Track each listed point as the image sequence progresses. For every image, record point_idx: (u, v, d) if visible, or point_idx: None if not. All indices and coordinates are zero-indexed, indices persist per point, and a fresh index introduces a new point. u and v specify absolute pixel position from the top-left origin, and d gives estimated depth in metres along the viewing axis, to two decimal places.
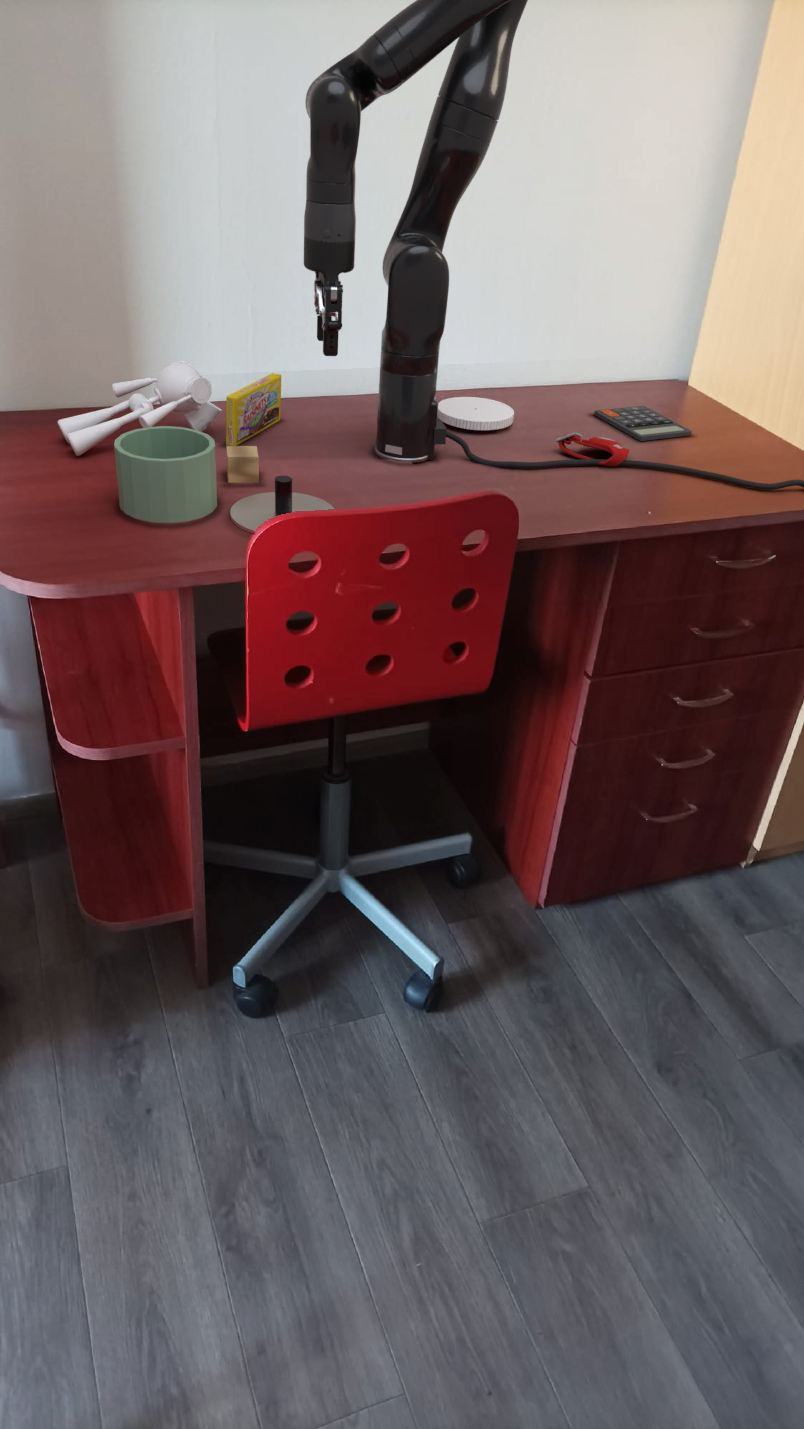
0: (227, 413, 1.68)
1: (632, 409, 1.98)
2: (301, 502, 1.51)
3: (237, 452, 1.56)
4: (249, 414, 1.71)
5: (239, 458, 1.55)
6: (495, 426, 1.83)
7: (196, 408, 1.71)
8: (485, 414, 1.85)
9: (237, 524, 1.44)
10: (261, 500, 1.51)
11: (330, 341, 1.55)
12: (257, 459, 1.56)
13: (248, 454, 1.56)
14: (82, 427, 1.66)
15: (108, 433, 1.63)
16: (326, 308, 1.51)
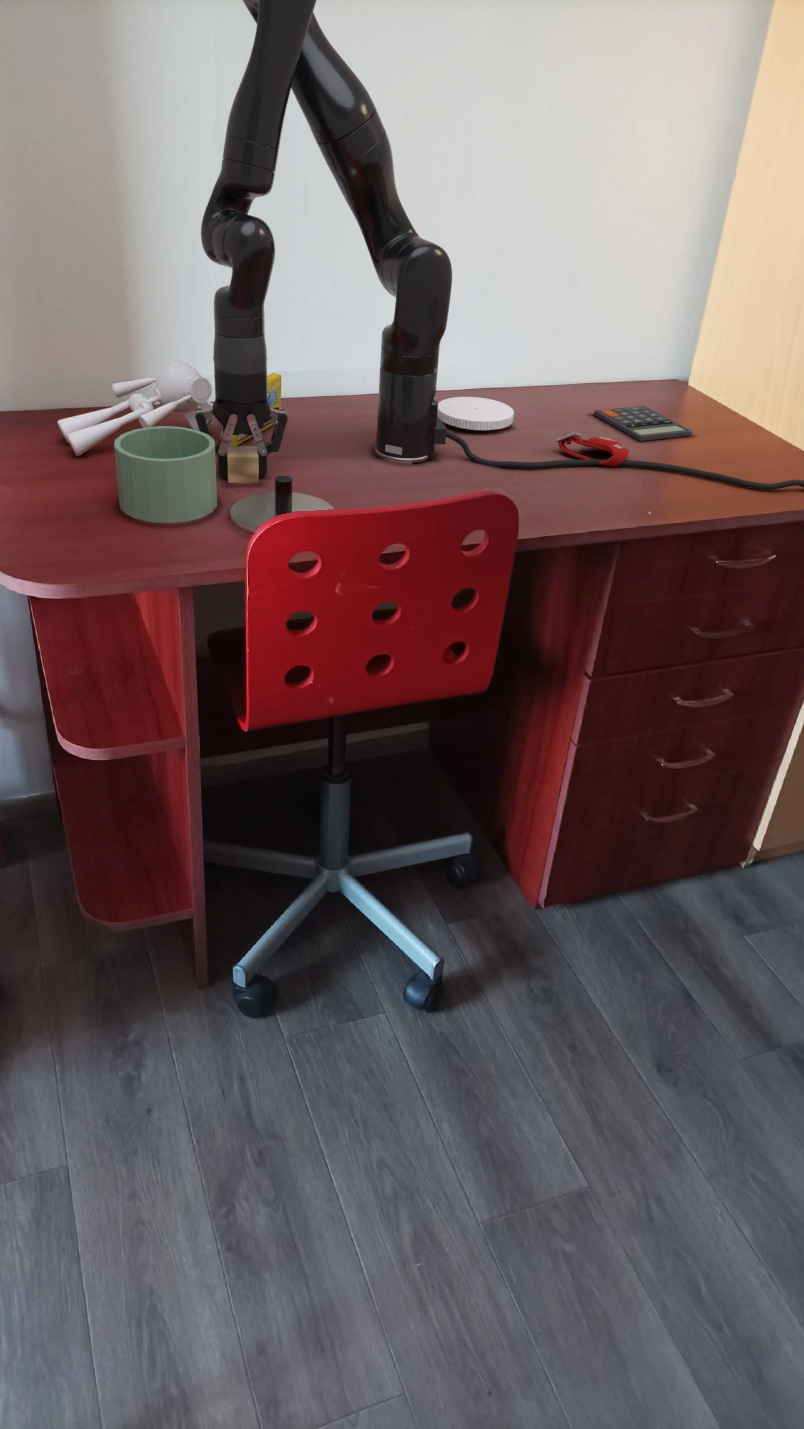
0: None
1: (632, 409, 1.98)
2: (301, 502, 1.51)
3: (237, 452, 1.56)
4: None
5: (238, 458, 1.55)
6: (495, 426, 1.83)
7: (196, 408, 1.71)
8: (485, 414, 1.85)
9: (237, 524, 1.44)
10: (261, 500, 1.51)
11: None
12: (257, 459, 1.56)
13: (248, 454, 1.56)
14: (82, 427, 1.66)
15: (108, 433, 1.63)
16: None
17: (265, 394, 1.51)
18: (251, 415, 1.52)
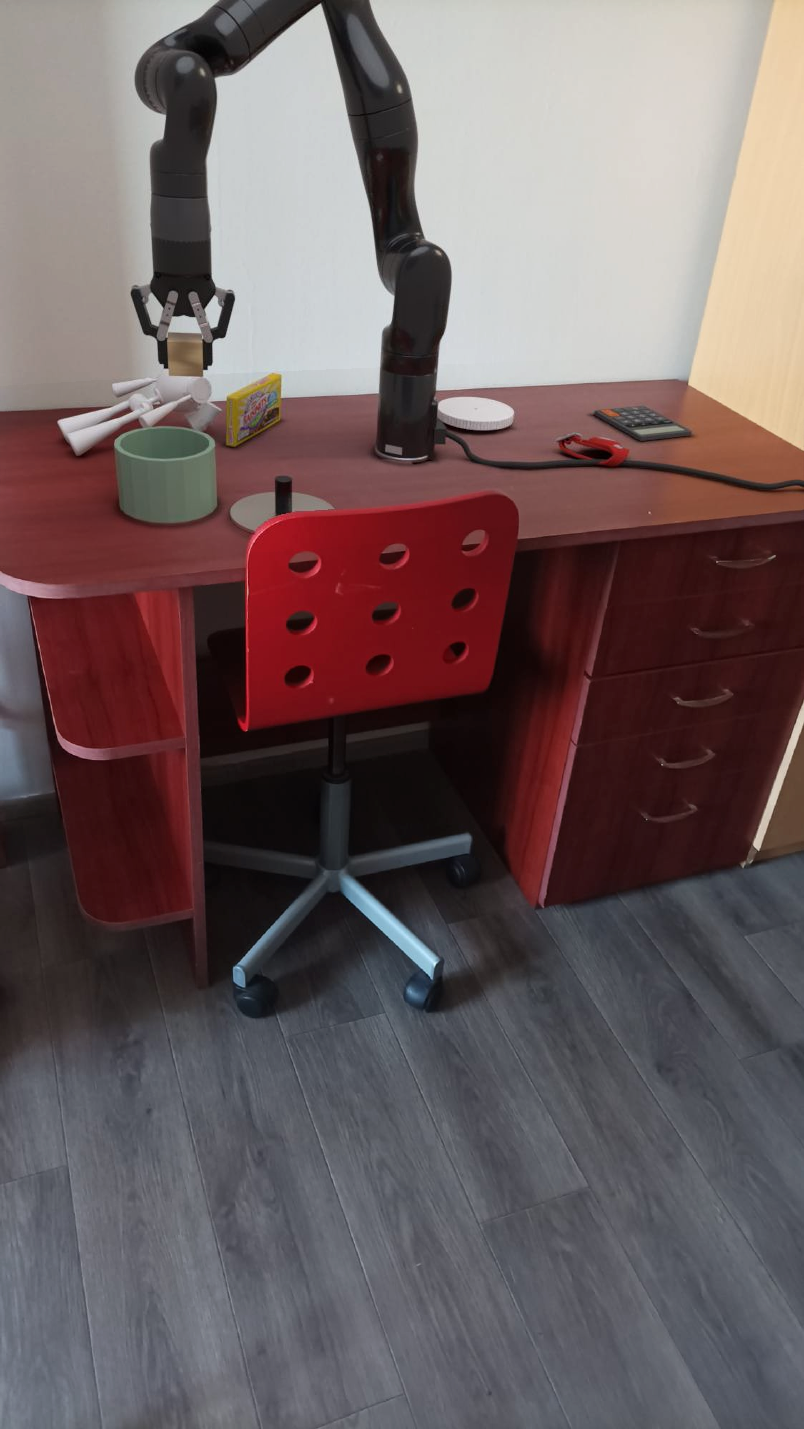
0: (227, 413, 1.68)
1: (632, 409, 1.98)
2: (301, 502, 1.51)
3: (179, 337, 1.40)
4: (249, 414, 1.71)
5: (180, 343, 1.38)
6: (495, 426, 1.83)
7: (196, 408, 1.71)
8: (485, 414, 1.85)
9: (237, 524, 1.44)
10: (261, 500, 1.51)
11: None
12: (201, 345, 1.39)
13: (191, 339, 1.39)
14: (82, 427, 1.66)
15: (108, 433, 1.63)
16: None
17: (209, 268, 1.35)
18: (193, 292, 1.35)
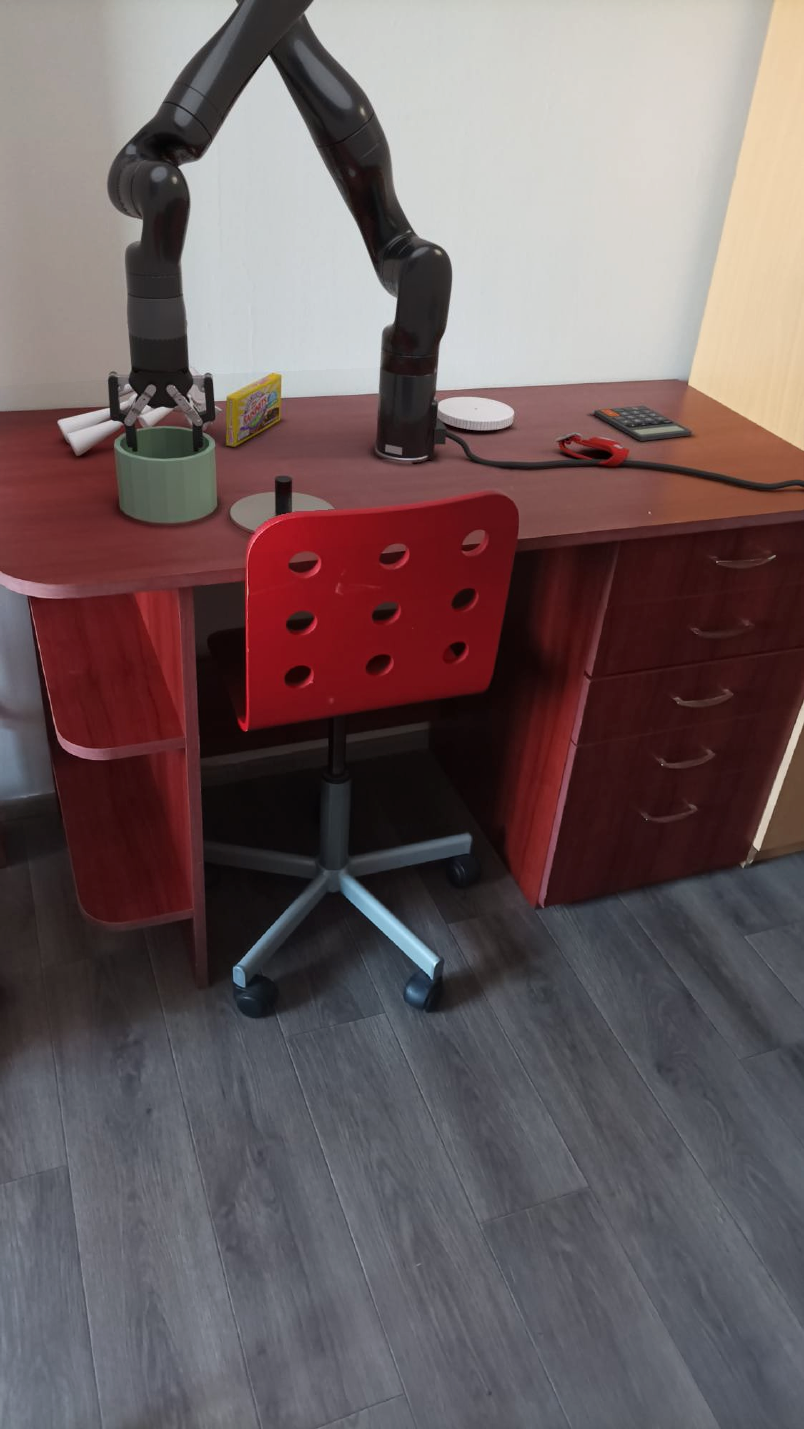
0: (227, 413, 1.68)
1: (632, 409, 1.98)
2: (301, 502, 1.51)
3: None
4: (249, 414, 1.71)
5: None
6: (495, 426, 1.83)
7: None
8: (485, 414, 1.85)
9: (237, 524, 1.44)
10: (261, 500, 1.51)
11: None
12: None
13: None
14: (82, 427, 1.66)
15: (108, 433, 1.63)
16: None
17: (186, 362, 1.37)
18: (171, 386, 1.38)
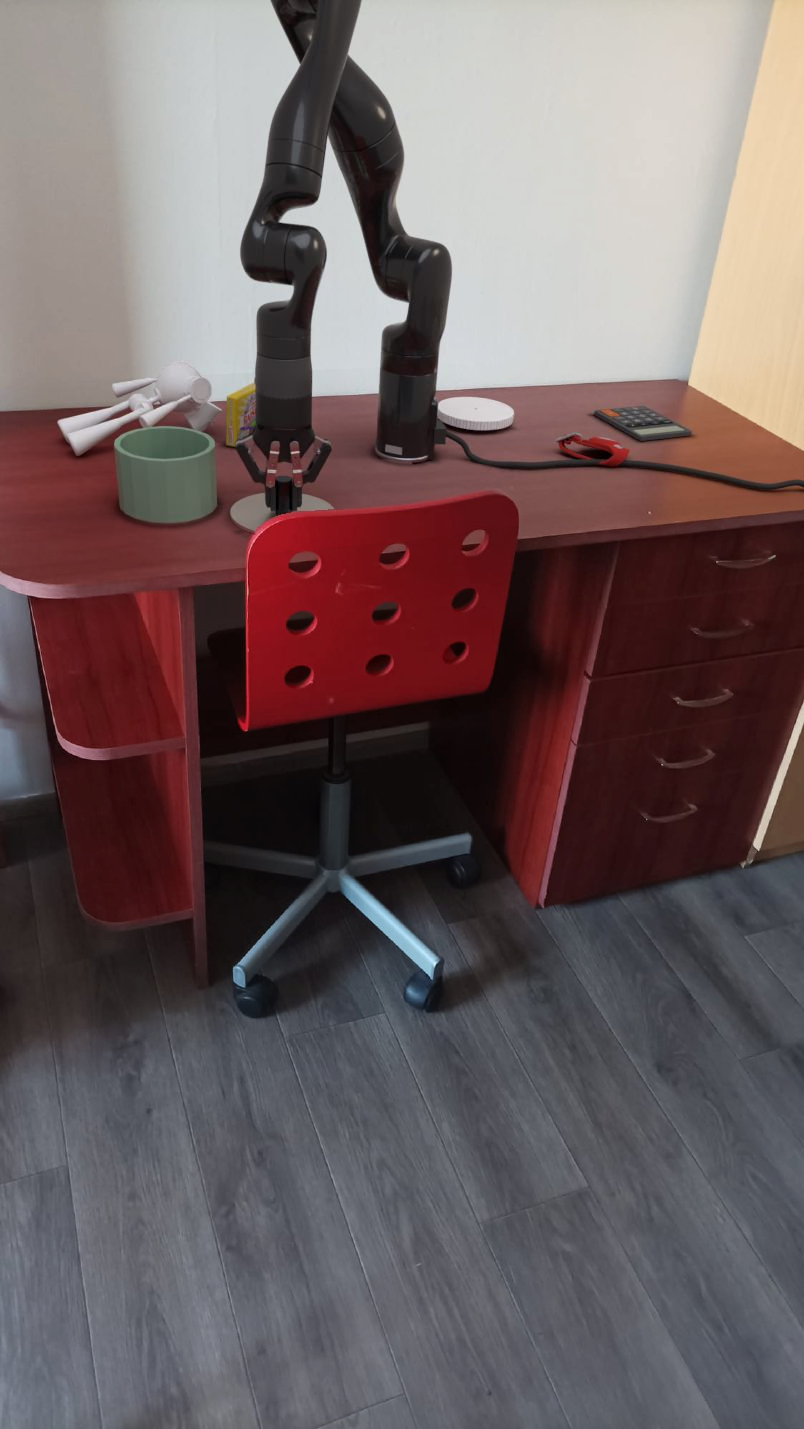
0: (227, 413, 1.68)
1: (632, 409, 1.98)
2: None
3: None
4: (249, 414, 1.71)
5: None
6: (495, 426, 1.83)
7: (196, 408, 1.71)
8: (485, 414, 1.85)
9: (237, 524, 1.44)
10: (261, 500, 1.51)
11: (265, 493, 1.46)
12: None
13: None
14: (82, 427, 1.66)
15: (108, 433, 1.63)
16: None
17: (310, 419, 1.39)
18: (295, 442, 1.40)
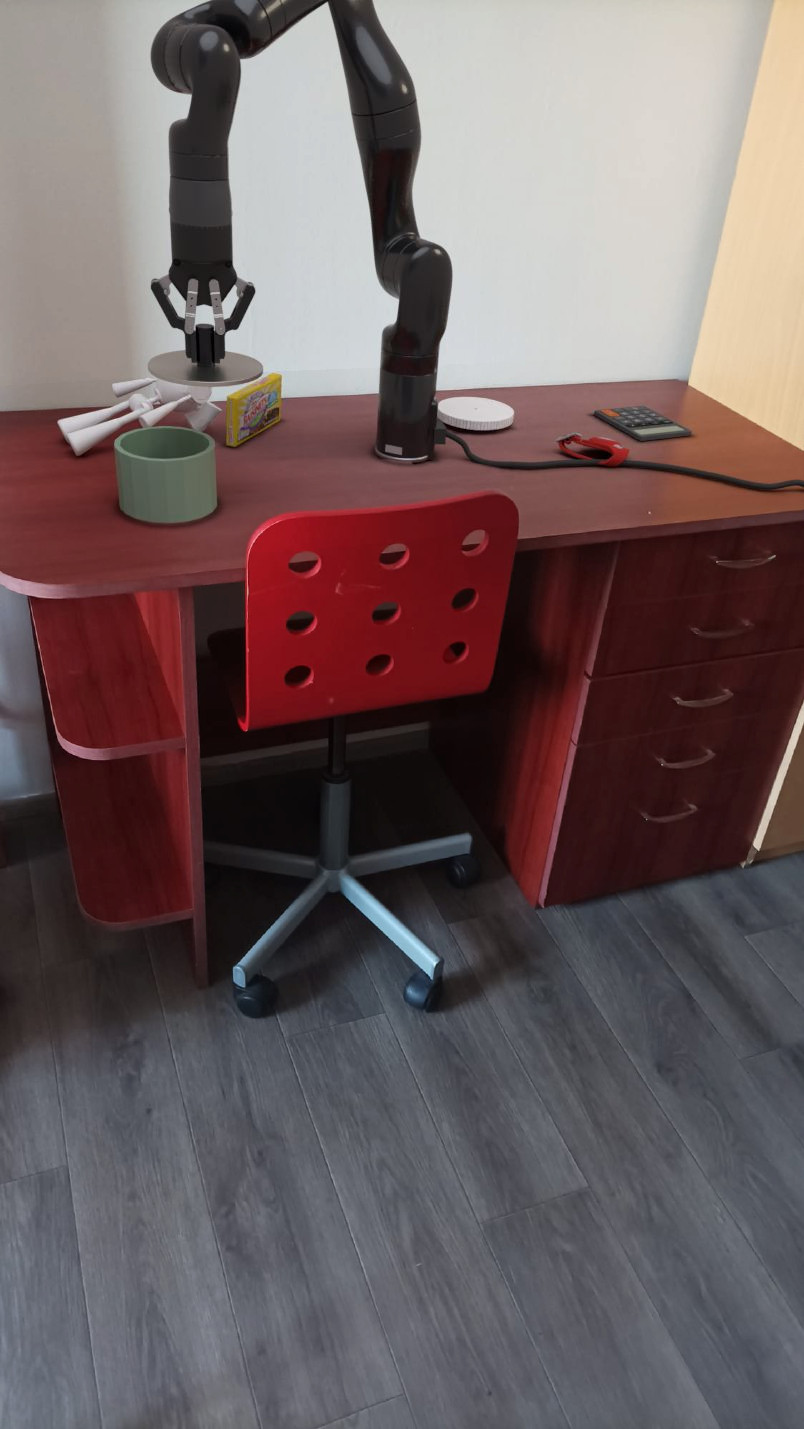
0: (227, 413, 1.68)
1: (632, 409, 1.98)
2: (226, 358, 1.40)
3: None
4: (249, 414, 1.71)
5: None
6: (495, 426, 1.83)
7: (196, 408, 1.71)
8: (485, 414, 1.85)
9: (154, 373, 1.33)
10: (183, 355, 1.40)
11: None
12: None
13: None
14: (82, 427, 1.66)
15: (108, 433, 1.63)
16: None
17: (230, 255, 1.29)
18: (214, 280, 1.30)
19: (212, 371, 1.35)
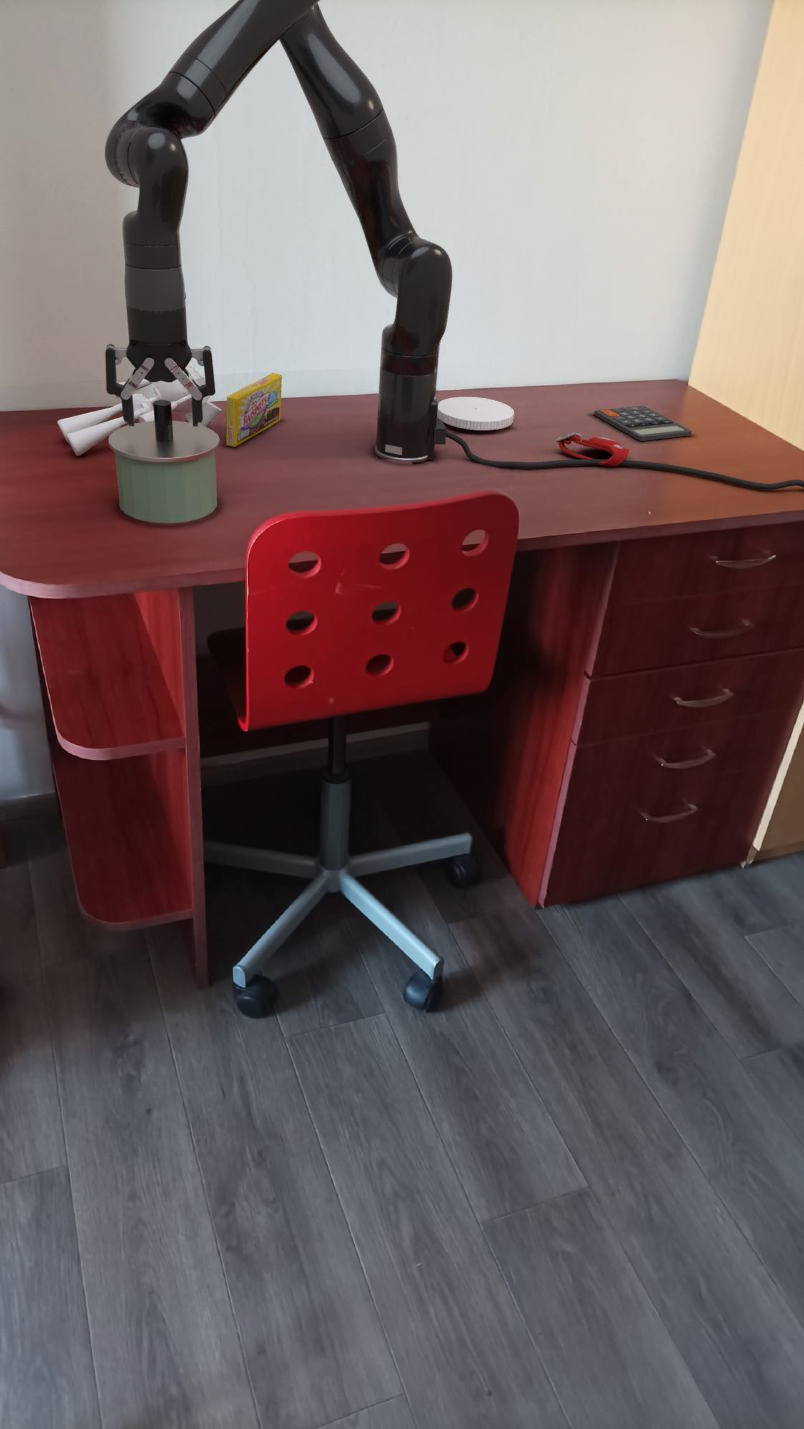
0: (227, 413, 1.68)
1: (632, 409, 1.98)
2: (185, 430, 1.47)
3: None
4: (249, 414, 1.71)
5: None
6: (495, 426, 1.83)
7: None
8: (485, 414, 1.85)
9: (113, 449, 1.40)
10: (144, 427, 1.47)
11: None
12: None
13: None
14: (82, 427, 1.66)
15: (108, 433, 1.63)
16: None
17: (184, 335, 1.35)
18: (169, 359, 1.36)
19: (170, 446, 1.42)
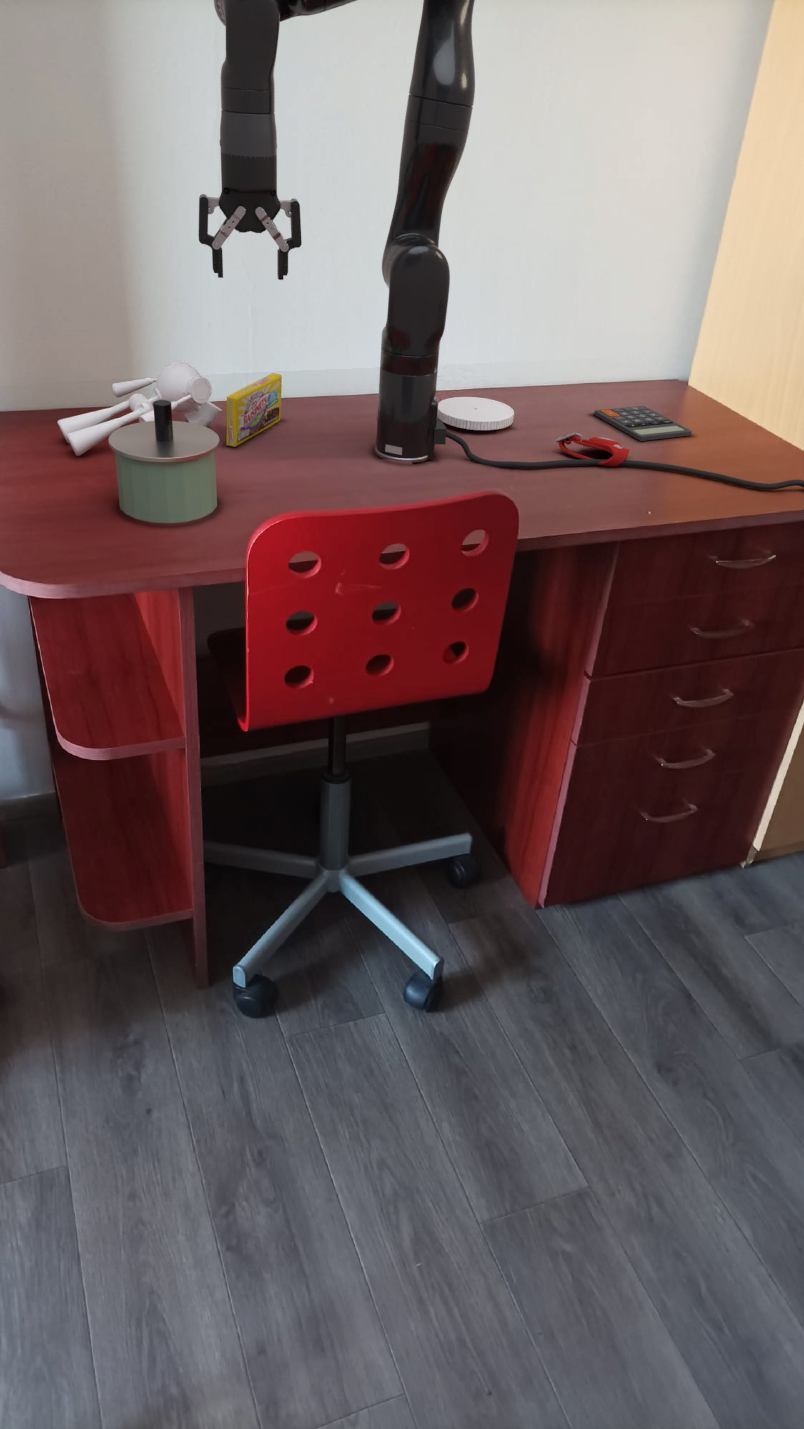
0: (227, 413, 1.68)
1: (632, 409, 1.98)
2: (185, 430, 1.47)
3: None
4: (249, 414, 1.71)
5: None
6: (495, 426, 1.83)
7: (196, 408, 1.71)
8: (485, 414, 1.85)
9: (113, 449, 1.40)
10: (144, 427, 1.47)
11: None
12: None
13: None
14: (82, 427, 1.66)
15: (108, 433, 1.63)
16: None
17: (275, 184, 1.42)
18: (260, 208, 1.42)
19: (170, 446, 1.42)
